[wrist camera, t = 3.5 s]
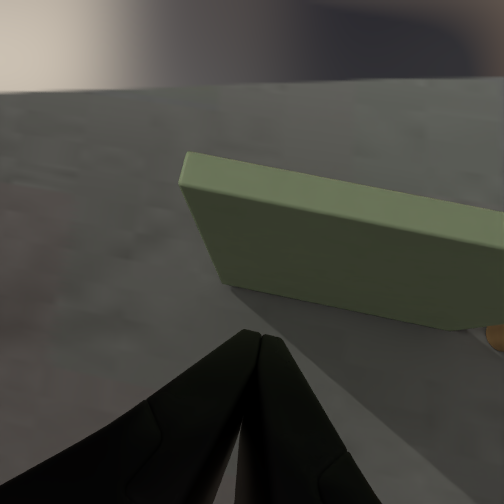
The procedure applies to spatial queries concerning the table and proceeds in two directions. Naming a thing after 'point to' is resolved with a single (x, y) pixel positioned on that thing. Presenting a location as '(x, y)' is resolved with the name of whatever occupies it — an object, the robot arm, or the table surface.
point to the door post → (496, 336)
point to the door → (348, 243)
